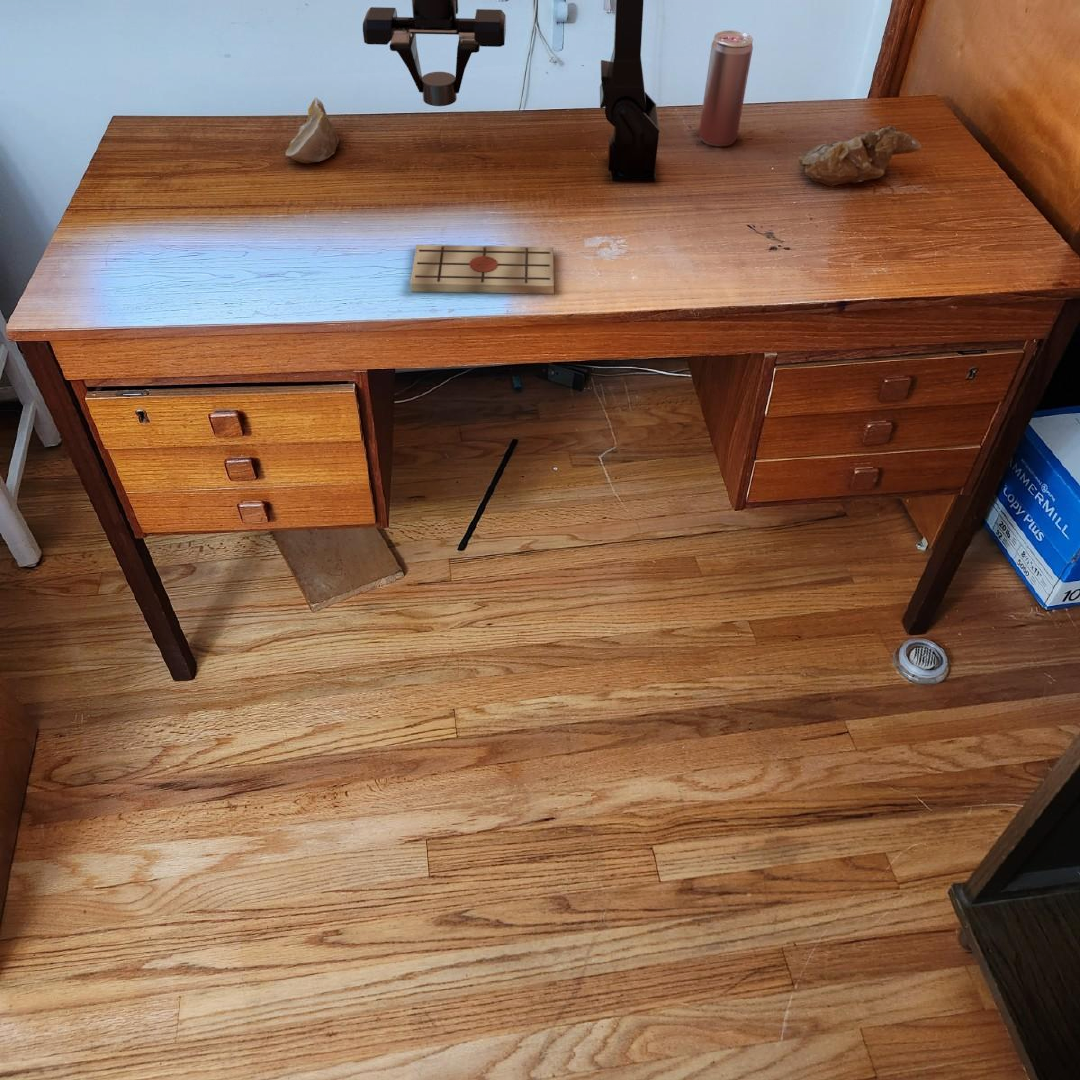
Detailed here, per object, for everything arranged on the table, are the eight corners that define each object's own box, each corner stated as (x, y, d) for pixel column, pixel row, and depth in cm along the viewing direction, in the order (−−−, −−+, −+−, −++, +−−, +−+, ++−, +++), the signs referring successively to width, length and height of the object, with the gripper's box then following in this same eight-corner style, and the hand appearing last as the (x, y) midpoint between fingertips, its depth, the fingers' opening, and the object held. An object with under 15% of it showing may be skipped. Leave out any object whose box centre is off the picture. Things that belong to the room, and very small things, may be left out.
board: (553, 255, 127) (553, 246, 126) (553, 293, 121) (553, 284, 120) (417, 252, 127) (416, 243, 126) (410, 291, 121) (410, 282, 120)
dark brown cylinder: (458, 91, 137) (457, 71, 135) (455, 106, 134) (454, 86, 132) (424, 91, 137) (423, 71, 135) (421, 106, 134) (419, 85, 132)
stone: (286, 127, 136) (300, 76, 145) (282, 167, 140) (296, 115, 150) (337, 140, 137) (347, 89, 147) (331, 180, 142) (341, 128, 152)
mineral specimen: (849, 202, 151) (788, 192, 142) (844, 155, 150) (783, 143, 141) (925, 174, 140) (865, 162, 131) (920, 124, 140) (859, 108, 131)
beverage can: (698, 128, 152) (713, 28, 141) (736, 131, 152) (754, 31, 141) (697, 146, 148) (712, 44, 137) (736, 149, 148) (754, 47, 137)
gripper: (506, -52, 128) (508, 69, 140) (367, -54, 128) (380, 66, 140) (503, -22, 121) (505, 102, 133) (355, -25, 121) (370, 100, 133)
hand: (439, 91), depth 135 cm, fingers closed on dark brown cylinder, 5 cm apart
